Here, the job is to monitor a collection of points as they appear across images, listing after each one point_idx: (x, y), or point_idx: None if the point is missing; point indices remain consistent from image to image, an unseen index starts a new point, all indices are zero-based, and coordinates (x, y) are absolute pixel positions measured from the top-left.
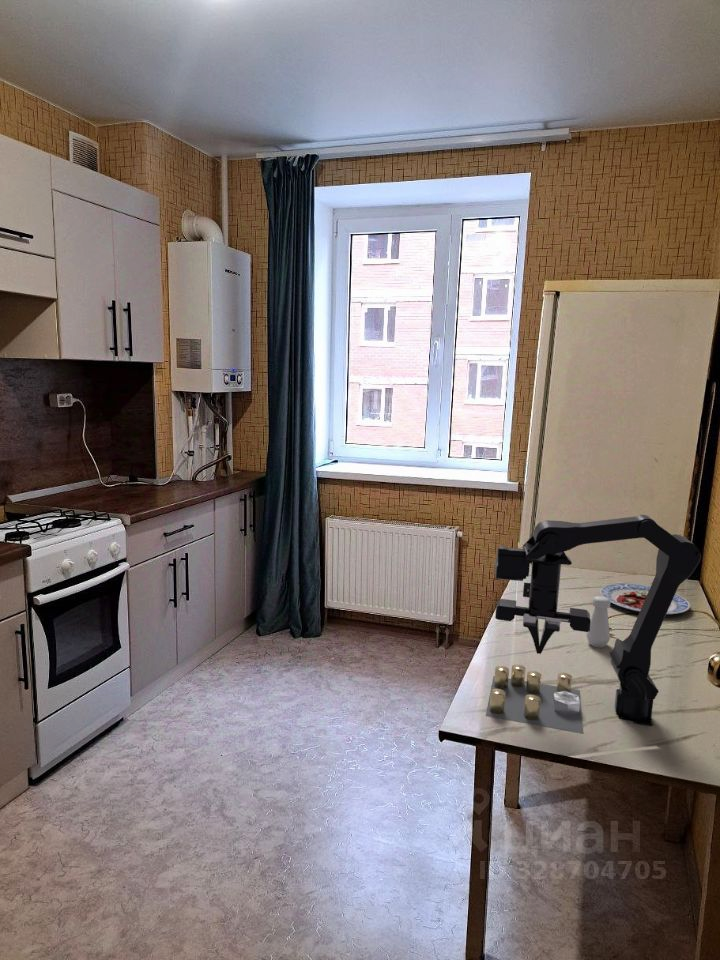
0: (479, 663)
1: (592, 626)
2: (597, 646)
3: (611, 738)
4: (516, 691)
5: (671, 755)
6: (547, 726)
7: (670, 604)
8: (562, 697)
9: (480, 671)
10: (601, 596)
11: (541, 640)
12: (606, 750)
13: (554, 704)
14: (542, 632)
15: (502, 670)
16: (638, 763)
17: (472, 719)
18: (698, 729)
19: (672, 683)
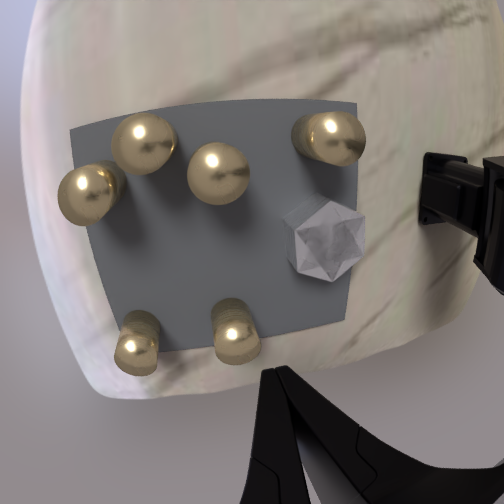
0: (26, 63)
1: None
2: None
3: (389, 295)
4: (160, 198)
5: (448, 291)
6: (271, 333)
7: None
8: (320, 248)
9: (33, 111)
10: None
11: (311, 478)
12: (371, 334)
13: (292, 264)
14: (338, 474)
15: (86, 210)
16: (403, 336)
17: (111, 363)
18: None
19: (485, 41)
